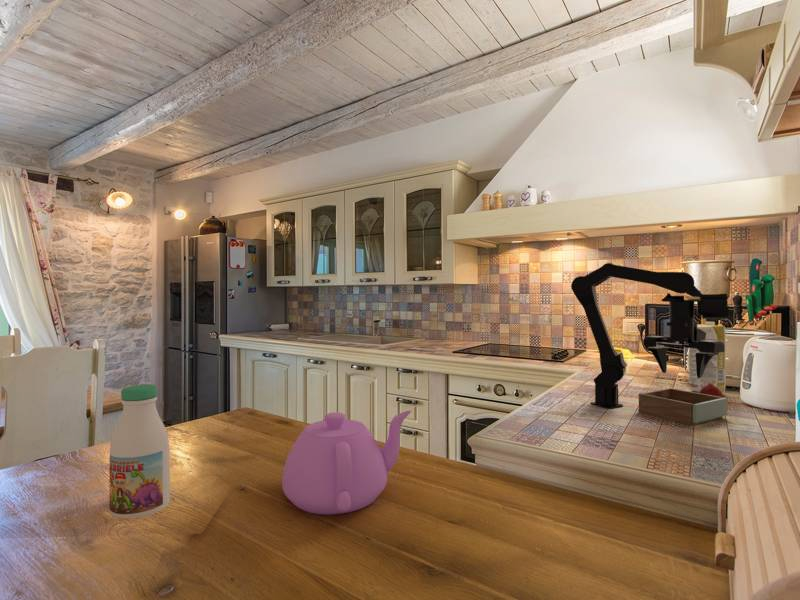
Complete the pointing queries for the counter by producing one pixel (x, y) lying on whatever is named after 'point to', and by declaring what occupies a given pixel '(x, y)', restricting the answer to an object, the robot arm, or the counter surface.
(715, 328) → the juice carton
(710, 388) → the onion
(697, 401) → the crate
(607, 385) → the robot arm
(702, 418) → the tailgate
